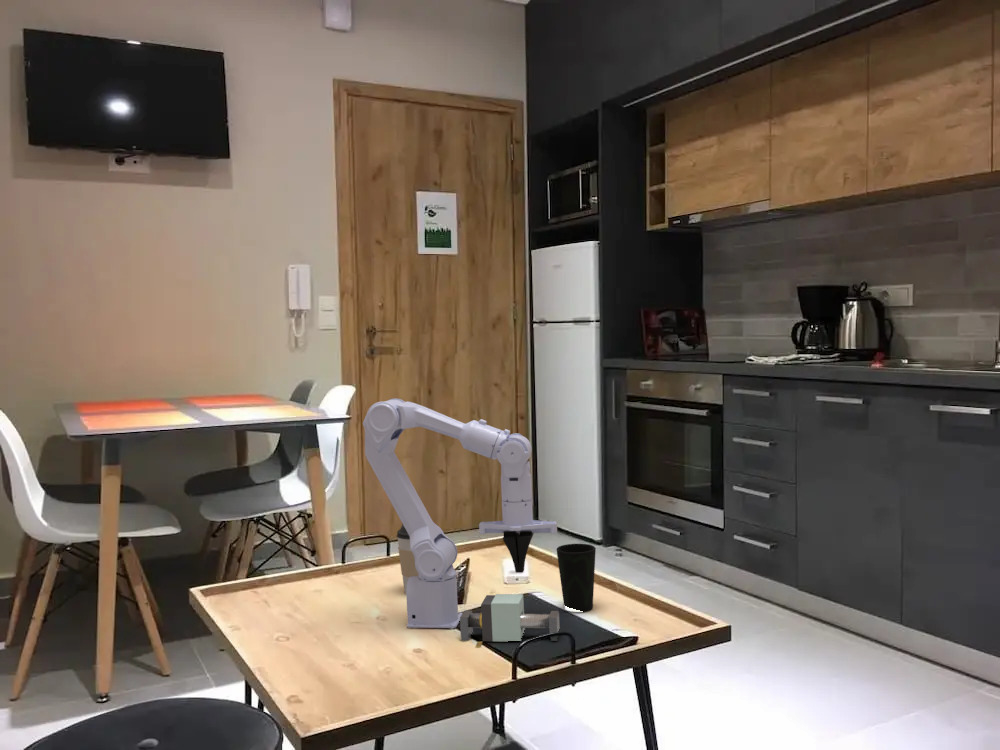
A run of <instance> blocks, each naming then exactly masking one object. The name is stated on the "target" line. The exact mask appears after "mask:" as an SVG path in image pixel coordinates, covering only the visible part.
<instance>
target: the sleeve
mask: <svg viewBox="0 0 1000 750" xmlns="http://www.w3.org/2000/svg"><path fill="white" fill-rule="evenodd" d="M524 604H525V603H524V594H523V593H520V594H519V593H514V594H513V593H497V594H495V597H494V599H493V601H492V602H491V615H492V637H493V641H492V642H508V641H521V642H522V639H523V637H522V636H524V634H525V632H524V630H525V631H526V628H521V616H520V615H521V614H525V605H524ZM523 633H524V634H523ZM521 638H522V639H521Z"/></svg>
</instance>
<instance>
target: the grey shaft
mask: <svg viewBox="0 0 1000 750" xmlns="http://www.w3.org/2000/svg"><path fill="white" fill-rule="evenodd" d="M559 611H560V610H551V611H550V613H524V614H521V615H520V616H521V628H525V629H527V628H528V629H548V631H549V634H550V633H552V632H558V631H559V629H561V627H560V612H559ZM461 613H462V615H461V617H460V622H459V626H460V641H464V642H465V641H466V642H467V641H470V639H471V637H472V636H471V634H472V632H473V633H474V629H473V628H479V629H482V615H481V612H480V613H473V611H472V610H471V609H470V610H467V609H466V610H463V612H461ZM472 635H473V634H472ZM483 642H484V641H477V642H476V645H475V647H474V648H481V647H482V645H483Z"/></svg>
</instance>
